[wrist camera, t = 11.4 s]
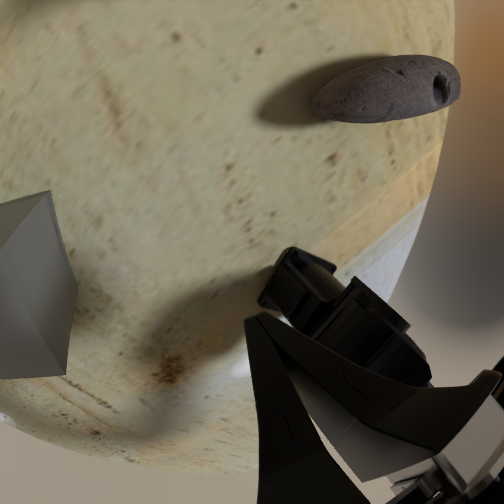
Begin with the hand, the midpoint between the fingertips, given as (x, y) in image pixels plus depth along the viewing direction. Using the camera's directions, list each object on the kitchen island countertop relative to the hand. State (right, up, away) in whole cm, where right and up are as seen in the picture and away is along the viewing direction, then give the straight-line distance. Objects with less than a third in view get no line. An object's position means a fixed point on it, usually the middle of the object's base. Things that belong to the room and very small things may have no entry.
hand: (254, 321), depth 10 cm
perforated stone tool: (+9, +17, +10) cm, 22 cm away
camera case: (-17, +3, +5) cm, 18 cm away
